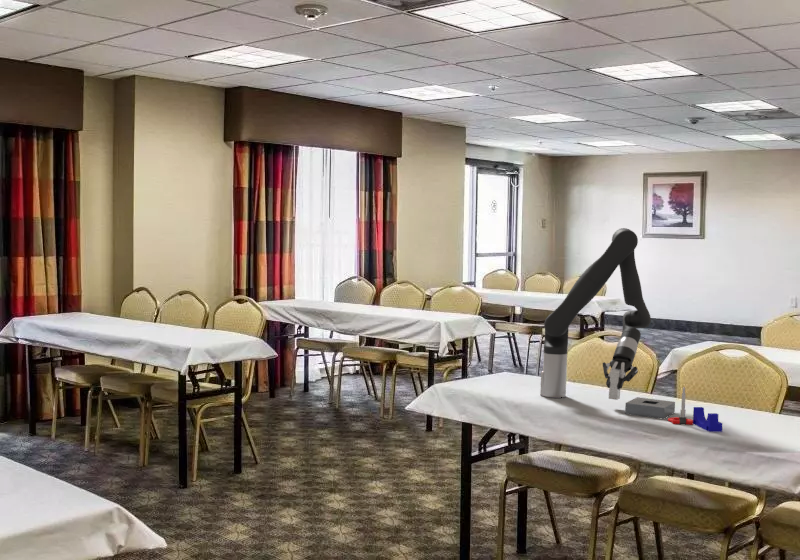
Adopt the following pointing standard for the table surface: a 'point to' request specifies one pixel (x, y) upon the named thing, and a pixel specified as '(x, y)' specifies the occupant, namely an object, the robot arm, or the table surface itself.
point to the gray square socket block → (650, 407)
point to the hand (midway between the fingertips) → (613, 387)
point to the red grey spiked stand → (681, 414)
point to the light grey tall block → (614, 384)
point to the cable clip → (708, 424)
